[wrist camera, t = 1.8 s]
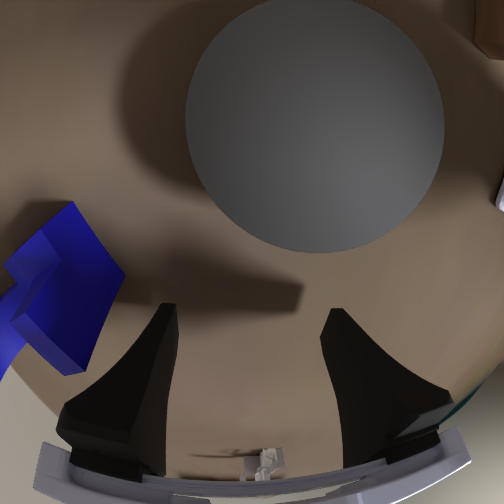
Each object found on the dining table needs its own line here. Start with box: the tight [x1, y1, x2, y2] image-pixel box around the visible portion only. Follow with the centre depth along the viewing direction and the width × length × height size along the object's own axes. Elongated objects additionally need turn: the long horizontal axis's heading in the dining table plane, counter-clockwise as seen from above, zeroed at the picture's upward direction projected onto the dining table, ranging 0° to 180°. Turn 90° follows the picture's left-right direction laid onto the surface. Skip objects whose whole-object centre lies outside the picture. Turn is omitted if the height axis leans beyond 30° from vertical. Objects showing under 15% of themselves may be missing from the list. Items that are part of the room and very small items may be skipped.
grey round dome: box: [185, 0, 445, 253], centre depth 8 cm, size 8×8×4 cm
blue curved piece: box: [0, 201, 125, 381], centre depth 10 cm, size 12×4×6 cm, turn 114°
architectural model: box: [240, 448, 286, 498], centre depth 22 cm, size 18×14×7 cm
